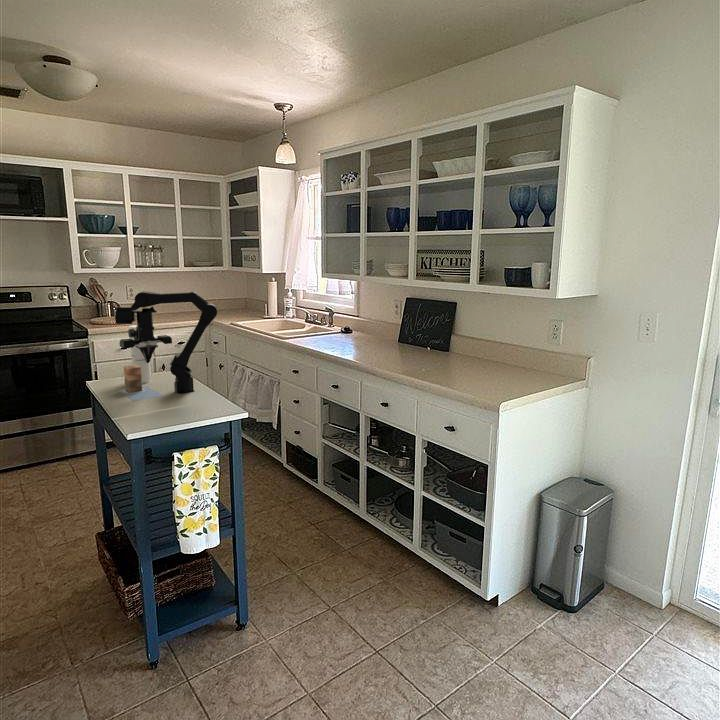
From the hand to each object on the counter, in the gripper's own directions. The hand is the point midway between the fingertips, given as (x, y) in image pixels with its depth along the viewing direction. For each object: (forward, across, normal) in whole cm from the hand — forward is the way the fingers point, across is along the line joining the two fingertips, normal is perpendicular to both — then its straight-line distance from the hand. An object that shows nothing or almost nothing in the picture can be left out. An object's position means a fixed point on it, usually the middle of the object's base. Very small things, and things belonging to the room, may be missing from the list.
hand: (147, 362), depth 209 cm
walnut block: (+12, +4, -7) cm, 15 cm away
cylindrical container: (+13, -4, -20) cm, 24 cm away
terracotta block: (+7, +4, -7) cm, 11 cm away
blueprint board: (+13, +3, -2) cm, 13 cm away
